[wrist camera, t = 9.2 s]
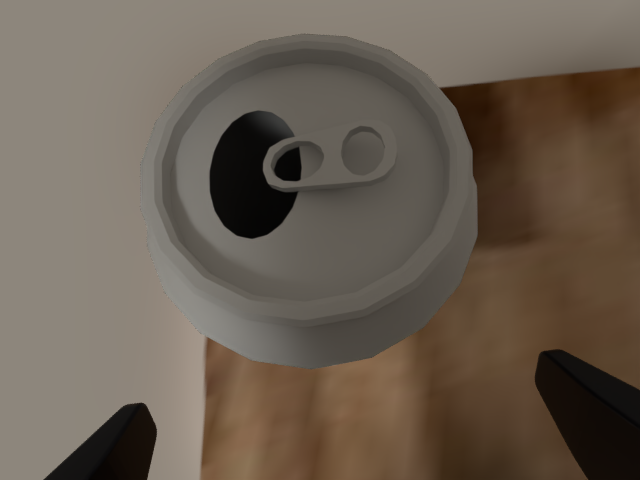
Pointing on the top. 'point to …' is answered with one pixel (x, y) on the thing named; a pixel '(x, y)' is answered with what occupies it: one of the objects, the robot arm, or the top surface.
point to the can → (309, 200)
